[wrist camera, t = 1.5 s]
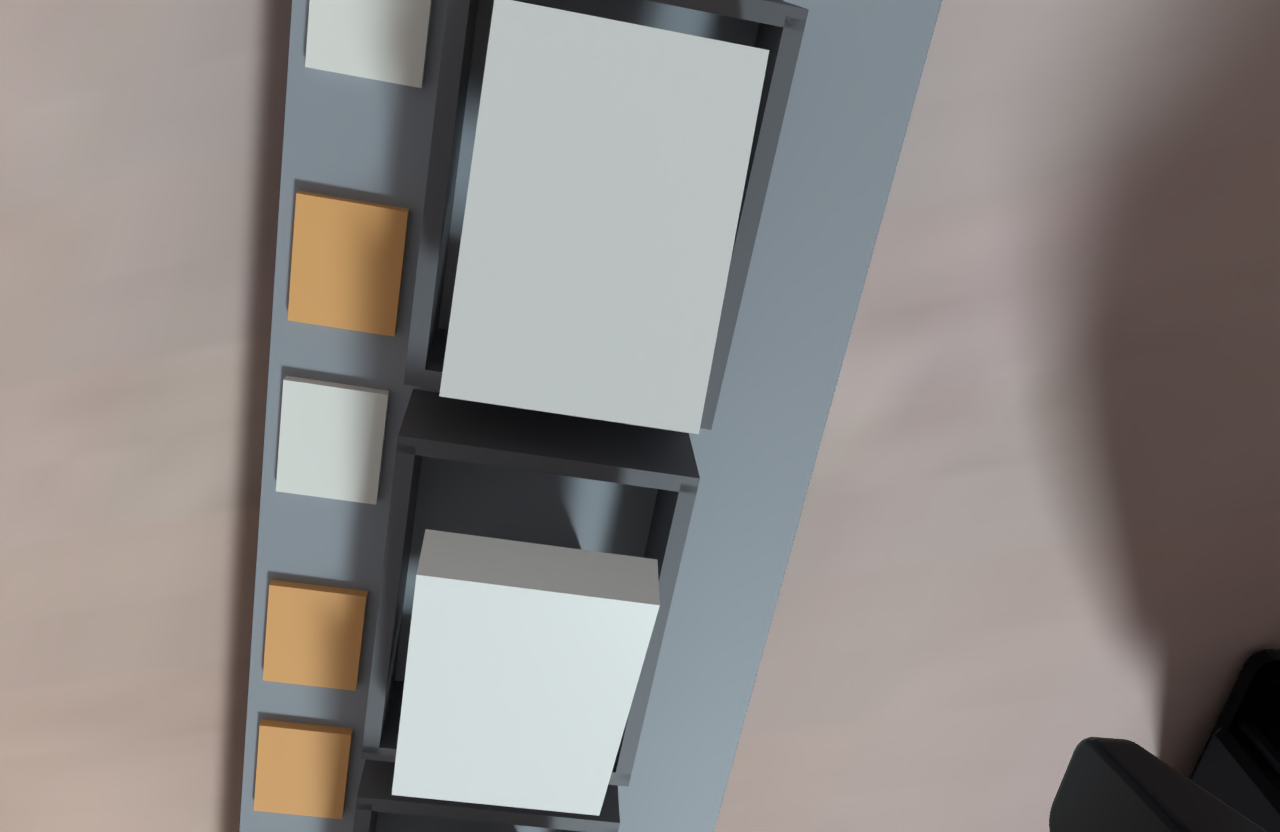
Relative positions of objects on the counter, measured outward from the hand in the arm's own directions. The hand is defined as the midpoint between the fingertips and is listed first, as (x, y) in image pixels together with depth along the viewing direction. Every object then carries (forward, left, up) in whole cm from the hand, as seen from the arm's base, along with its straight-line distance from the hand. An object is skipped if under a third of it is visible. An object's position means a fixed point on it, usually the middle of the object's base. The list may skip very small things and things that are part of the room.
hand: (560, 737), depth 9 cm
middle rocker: (0, +5, -8) cm, 10 cm away
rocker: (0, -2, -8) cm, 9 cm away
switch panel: (0, +5, -13) cm, 14 cm away
